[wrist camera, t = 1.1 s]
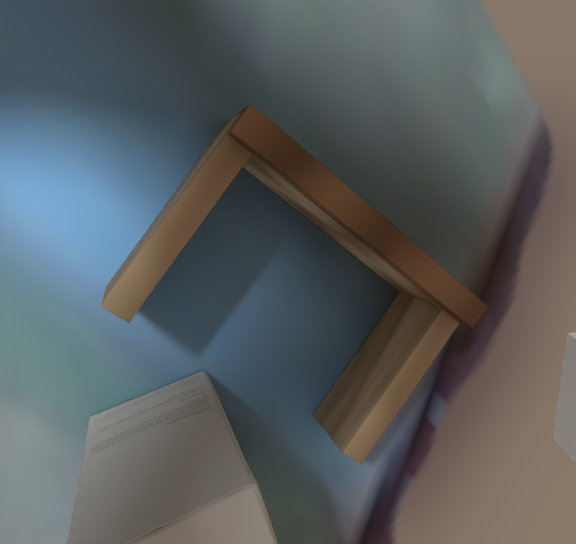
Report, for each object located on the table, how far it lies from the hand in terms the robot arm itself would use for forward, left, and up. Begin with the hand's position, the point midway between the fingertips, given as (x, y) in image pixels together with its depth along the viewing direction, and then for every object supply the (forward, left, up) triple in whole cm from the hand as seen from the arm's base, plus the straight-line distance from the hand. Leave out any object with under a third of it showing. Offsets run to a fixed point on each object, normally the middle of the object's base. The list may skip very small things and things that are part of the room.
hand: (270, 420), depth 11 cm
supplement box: (+5, -9, -20) cm, 22 cm away
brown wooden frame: (+5, +2, -20) cm, 20 cm away
